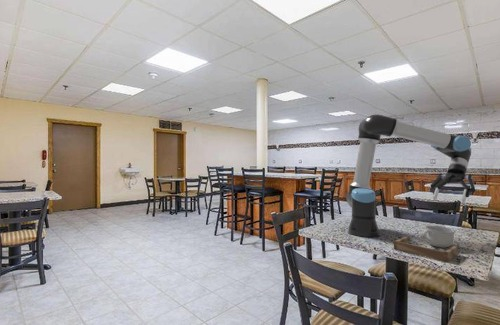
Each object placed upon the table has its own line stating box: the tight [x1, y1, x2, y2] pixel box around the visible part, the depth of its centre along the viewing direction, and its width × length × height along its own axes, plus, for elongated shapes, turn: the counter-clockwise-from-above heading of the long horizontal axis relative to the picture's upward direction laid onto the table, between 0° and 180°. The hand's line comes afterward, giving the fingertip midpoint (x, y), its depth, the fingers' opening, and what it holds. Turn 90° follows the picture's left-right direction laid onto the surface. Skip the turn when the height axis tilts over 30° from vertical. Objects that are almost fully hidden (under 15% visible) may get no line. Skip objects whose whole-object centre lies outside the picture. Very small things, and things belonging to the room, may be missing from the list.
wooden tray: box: [393, 236, 459, 263], centre depth 112 cm, size 13×19×4 cm
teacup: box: [422, 225, 455, 249], centre depth 121 cm, size 14×11×8 cm
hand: (448, 200), depth 131 cm, fingers open, 11 cm apart
